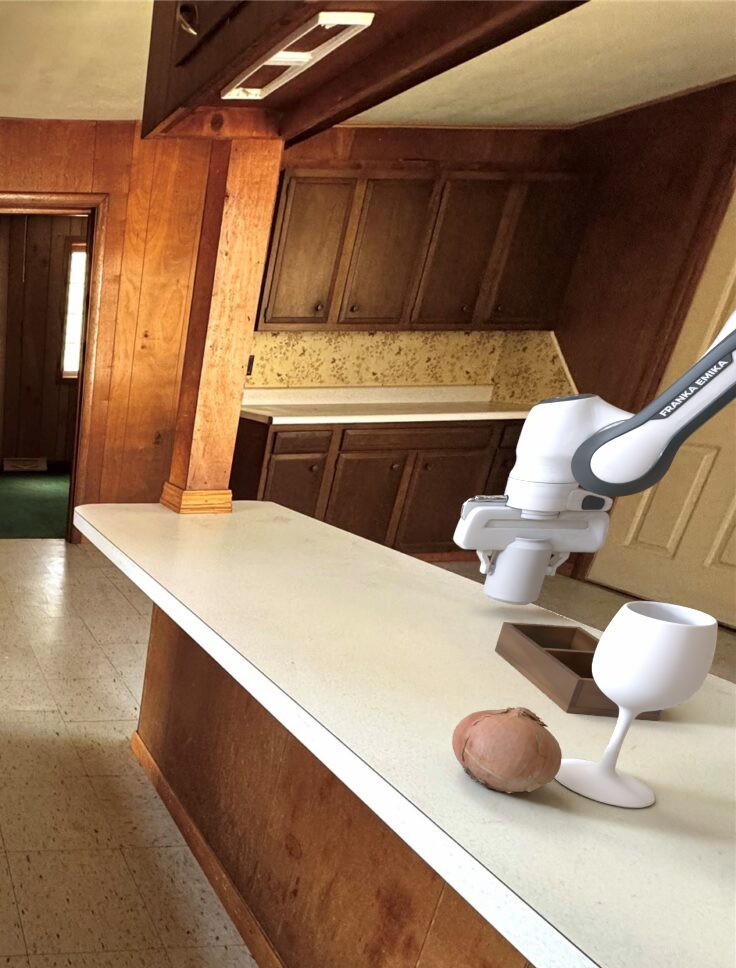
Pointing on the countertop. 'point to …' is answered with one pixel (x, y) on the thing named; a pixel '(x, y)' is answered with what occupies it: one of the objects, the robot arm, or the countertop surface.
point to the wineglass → (642, 686)
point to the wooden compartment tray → (559, 666)
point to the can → (518, 571)
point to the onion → (507, 749)
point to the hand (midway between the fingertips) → (516, 573)
